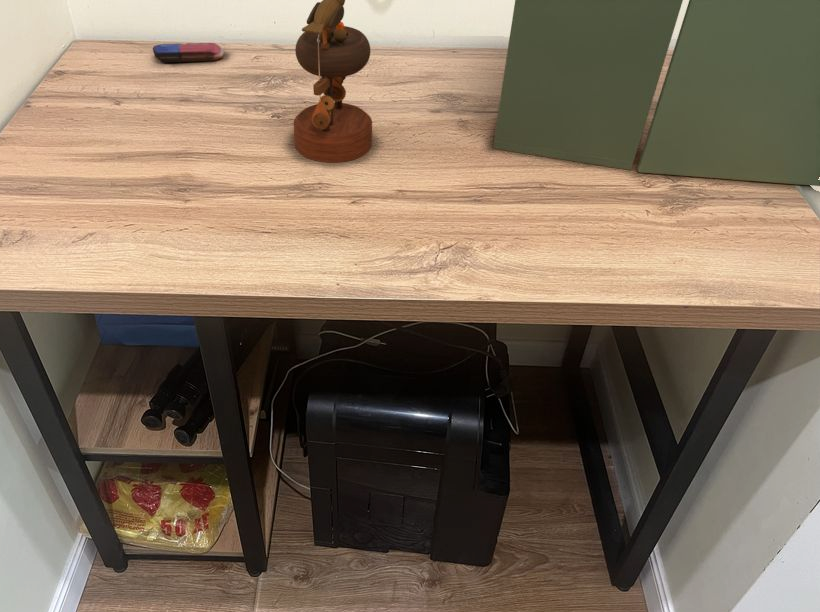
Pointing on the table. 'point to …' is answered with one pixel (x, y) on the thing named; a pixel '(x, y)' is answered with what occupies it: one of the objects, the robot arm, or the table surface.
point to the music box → (332, 87)
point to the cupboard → (582, 77)
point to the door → (741, 94)
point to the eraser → (188, 52)
